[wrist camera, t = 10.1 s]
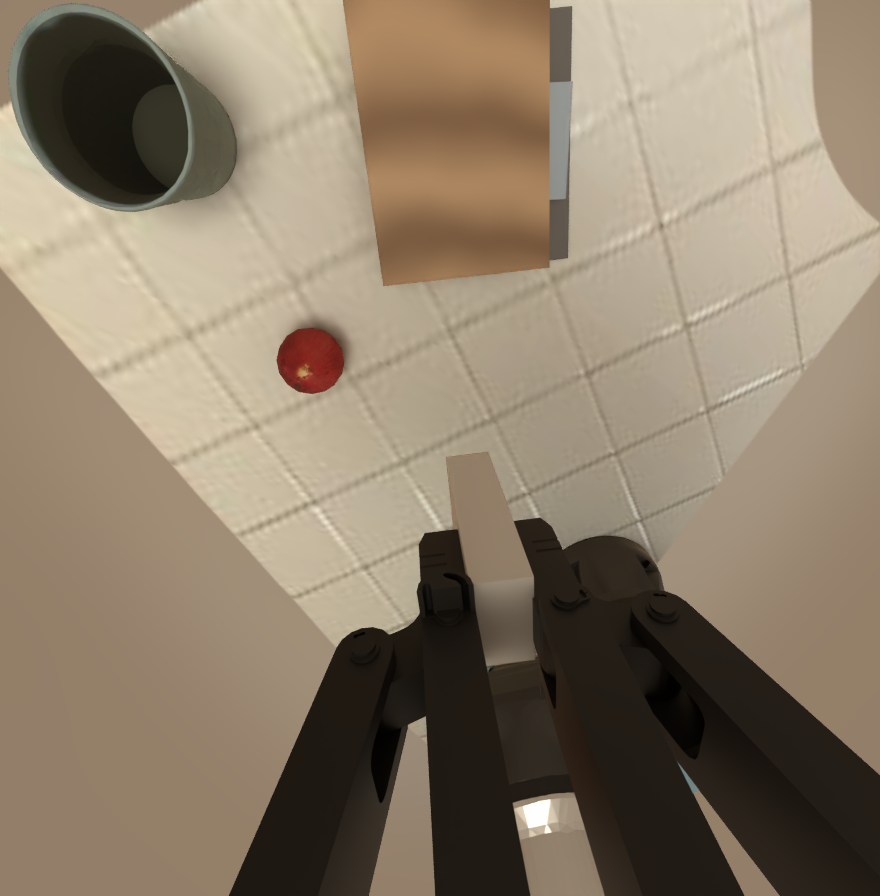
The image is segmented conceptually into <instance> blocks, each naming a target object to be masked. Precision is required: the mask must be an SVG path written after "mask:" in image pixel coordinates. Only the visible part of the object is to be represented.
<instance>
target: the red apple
mask: <svg viewBox="0 0 880 896" xmlns="http://www.w3.org/2000/svg"><path fill="white" fill-rule="evenodd" d="M277 364H278V369H279V373H280V375H281V376H282V377H283V379H284V380H285V382H286V383H287V384H288V385H289V386H291V387H292V388H294V389H295V390H297V391H298V392H303V393H310V394H314V393H319V392H324V391H326V390H327V389H329V388H330V387H332V386H334V385H335V383H336V382H337V380H338V379H339V377H340V376H341V374H342V371H343V366H344V358H343V353H342V348H341V347H340V346H339V344H338V343H337V341H336V340H335V339H334V338H333V337H332V336H330V335H329V334H328V333H326V332H325V331H321V330H318V329H314V328H308V329H298V330H296V331H294V332H293V333H291V334H290V335H288V336H287V337H286V338H285V340H284V341H283V343H282V344H281V346H280V348H279V351H278V356H277Z"/></svg>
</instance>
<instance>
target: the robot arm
mask: <svg viewBox="0 0 880 896" xmlns="http://www.w3.org/2000/svg"><path fill="white" fill-rule="evenodd" d="M446 462H447V471H448V481H449V490H450V500H451V510H452V519H453V526H454V530H447V531H438V532H430V533H425V534H424V536H423V538H422V540H421V541H420V543H419V557H420V576H421V582H420V583H419V585H418V589H417V596H418V603H419V609H420V614H419V616H418V617H417V618H416V620H415V621H414V622H413V623H411V624H410V625H409V626H408V627H406V628H404V629H402V630H400V631H398V632H395V633H393V634H390V635H389V634H388V633H386V632H385V631H384V630H382V629H378V628H373V627H371V628H361V629H359V630H356V631H354V632H351V633H350V634H349V635H347V636H346V637H345V638H344V639H342V641H341V642H340V644H339V645H338V647H337V648H336V651H335V653H334V655H333V657H332V659H331V662H330V664H329V666H328V669H327V671H326V673H325V676H324V678H323V680H322V683H321V685H320V687H319V690H318V692H317V694H316V697H315V699H314V701H313V703H312V706H311V708H310V710H309V712H308V715H307V717H306V719H305V722H304V724H303V726H302V729H301V731H300V733H299V736H298V738H297V740H296V742H295V745H294V747H293V749H292V752H291V754H290V756H289V759H288V761H287V763H286V765H285V768H284V770H283V772H282V775H281V777H280V779H279V782H278V784H277V786H276V788H275V791H274V793H273V795H272V798H271V800H270V802H269V805H268V807H267V809H266V812H265V814H264V816H263V818H262V821H261V824H260V825H259V828H258V830H257V832H256V835H255V837H254V839H253V841H252V844H251V846H250V848H249V851H248V853H247V855H246V857H245V860H244V862H243V864H242V867H241V869H240V871H239V874H238V876H237V878H236V881H235V883H234V885H233V888H232V890H231V892H230V894H229V896H369V892H370V887H371V883H372V879H373V874H374V870H375V866H376V862H377V858H378V853H379V849H380V845H381V840H382V836H383V831H384V827H385V823H386V819H387V815H388V810H389V805H390V802H391V797H392V793H393V789H394V785H395V780H396V776H397V772H398V767H399V763H400V759H401V754H402V750H403V746H404V742H405V737H406V733H407V729H408V724H410V723H412V722H415V721H417V720H419V719H421V718H423V717H425V716H426V725H427V745H428V764H429V782H430V802H431V821H432V839H433V840H432V841H433V860H434V879H435V896H744V894H743V892H742V890H741V888H740V886H739V884H738V882H737V880H736V878H735V876H734V874H733V872H732V870H731V868H730V866H729V864H728V862H727V860H726V858H725V856H724V854H723V852H722V850H721V848H720V846H719V844H718V842H717V840H716V838H715V836H714V834H713V832H712V830H711V828H710V826H709V824H708V822H707V820H706V818H705V816H704V814H703V812H702V810H701V808H700V806H699V804H698V802H697V800H696V798H695V796H694V794H693V793H695V792H697V791H700V792H701V793H702V795H703V796H704V797H705V798H706V800H707V801H708V802H709V804H710V805H711V806H712V808H713V809H714V810H715V811H716V813H717V814H718V815H719V817H720V818H721V819H722V821H723V822H724V823H725V825H726V826H727V827H728V829H729V830H730V831H731V832H732V834H733V835H734V836H735V838H736V839H737V840H738V842H739V843H740V844H741V846H742V847H743V848H744V850H745V851H746V852H747V853H748V855H749V856H750V857H751V859H752V860H753V861H754V862H755V864H756V865H757V867H758V868H759V869H760V870H761V872H762V873H763V874H764V875H765V877H766V878H767V880H768V881H769V882H770V883H771V885H772V886H773V887H774V889H775V890H776V891H777V893H778V894H779V895H780V896H880V775H879V774H878V773H877V772H875V771H874V770H873V769H872V768H871V767H870V766H869V765H868V764H867V763H866V762H864V761H863V760H862V759H861V758H860V757H859V756H857V754H856V753H854V752H853V751H852V750H851V749H850V748H849V747H848V746H847V745H845V744H844V743H843V742H842V741H841V740H840V739H839V738H838V737H837V736H835V735H834V734H833V733H832V732H831V731H830V730H829V729H827V727H825V726H824V725H823V724H822V723H821V722H820V721H819V720H818V719H816V718H815V717H814V716H813V715H812V714H811V713H810V712H808V710H806V709H805V708H804V707H803V706H802V705H801V704H800V703H798V702H797V701H796V700H795V699H794V698H793V697H792V696H791V695H790V694H789V693H787V692H786V691H785V690H784V689H783V688H782V687H781V686H780V685H779V684H777V683H776V682H775V681H774V680H773V679H772V678H771V677H770V676H768V675H767V674H766V673H765V672H764V671H763V670H762V669H761V668H759V667H758V666H757V665H756V664H755V663H754V662H753V661H752V660H750V659H749V658H748V657H747V656H746V655H745V654H744V653H743V652H742V651H741V650H739V649H738V648H737V647H736V646H735V645H734V644H733V643H732V642H731V641H729V640H728V639H727V638H726V637H725V636H724V635H723V634H722V633H721V632H719V631H718V630H717V629H716V628H715V627H714V626H713V625H712V624H710V623H709V622H708V621H707V620H706V619H705V618H704V617H703V616H702V615H700V614H699V613H698V612H697V611H696V610H695V609H694V608H693V607H692V606H690V605H689V604H688V603H687V602H686V601H684V600H683V599H681V598H680V597H678V596H677V595H674V594H671V593H668V592H666V591H664V587H663V583H662V578H661V575H660V572H659V570H658V567H657V566H656V564H655V563H654V561H653V560H652V559H651V557H650V556H649V554H648V553H647V552H646V551H645V550H644V549H643V548H642V547H641V546H640V545H638V544H636V543H635V542H633V541H630V540H627V539H624V538H619V537H597V538H592V539H588V540H584V541H581V542H579V543H577V544H574V545H572V546H571V547H569V548H567V549H566V550H564V551H563V550H562V547H561V545H560V543H559V541H558V540H557V537H556V534H555V532H554V530H553V528H552V527H551V526H550V525H549V524H548V523H546V522H545V521H544V520H542V519H541V518H535V519H526V520H518V521H513V518H512V516H511V513H510V510H509V507H508V505H507V502H506V499H505V496H504V494H503V491H502V488H501V486H500V483H499V480H498V477H497V475H496V472H495V469H494V466H493V464H492V461H491V458H490V456H489V453H488V452H483V453H475V454H467V455H459V456H450V457H446ZM535 648H536V652H537V655H538V657H535ZM499 664H501V665H499ZM495 665H496V666H495ZM487 666H488V667H487Z"/></svg>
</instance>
